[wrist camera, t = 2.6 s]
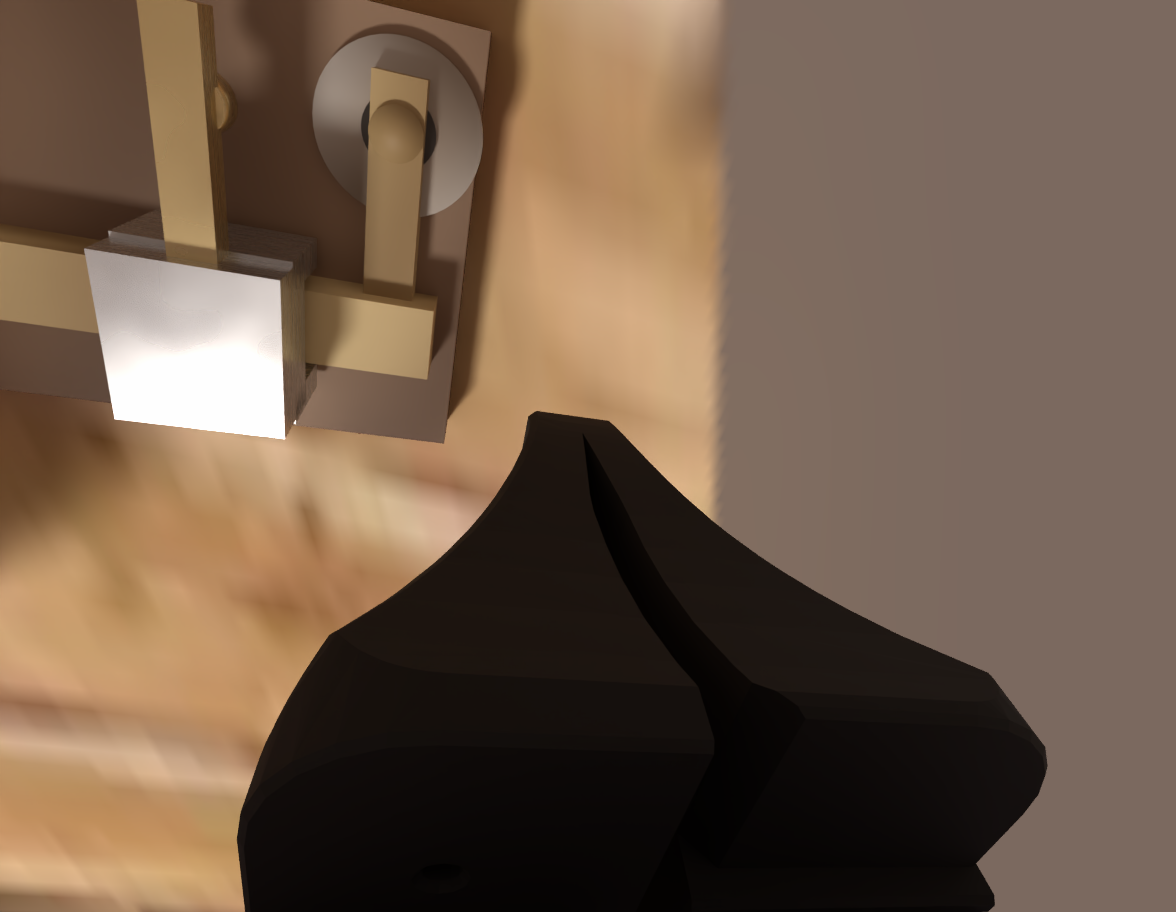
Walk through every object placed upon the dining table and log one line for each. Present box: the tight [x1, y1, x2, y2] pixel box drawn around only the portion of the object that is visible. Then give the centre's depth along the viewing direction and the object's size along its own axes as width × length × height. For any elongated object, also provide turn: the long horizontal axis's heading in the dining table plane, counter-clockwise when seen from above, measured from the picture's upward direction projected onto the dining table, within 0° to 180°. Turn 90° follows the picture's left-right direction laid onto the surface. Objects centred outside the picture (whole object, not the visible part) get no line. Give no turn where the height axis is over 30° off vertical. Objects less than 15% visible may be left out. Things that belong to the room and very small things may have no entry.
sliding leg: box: [84, 0, 317, 439], centre depth 12 cm, size 3×7×3 cm, turn 168°
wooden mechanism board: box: [0, 0, 492, 443], centre depth 13 cm, size 14×9×2 cm, turn 78°
